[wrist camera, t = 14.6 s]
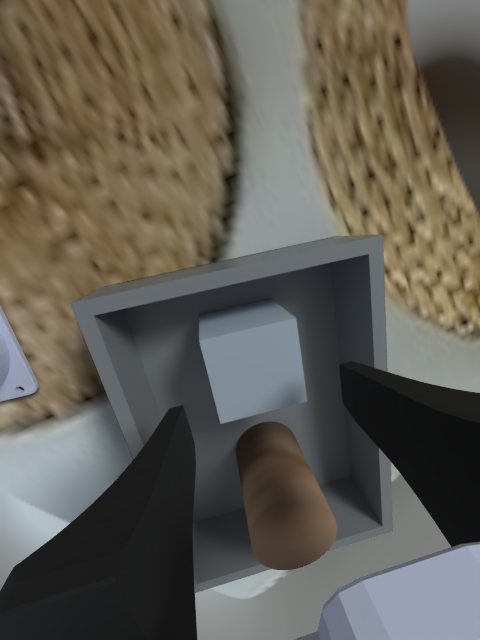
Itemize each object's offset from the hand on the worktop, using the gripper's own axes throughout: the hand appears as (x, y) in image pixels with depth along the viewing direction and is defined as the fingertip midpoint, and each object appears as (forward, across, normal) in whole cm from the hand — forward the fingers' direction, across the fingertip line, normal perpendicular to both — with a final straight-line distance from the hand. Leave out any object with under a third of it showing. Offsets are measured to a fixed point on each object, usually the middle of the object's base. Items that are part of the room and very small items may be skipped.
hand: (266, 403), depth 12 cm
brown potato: (+7, 0, +9) cm, 12 cm away
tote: (+8, 0, +5) cm, 9 cm away
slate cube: (+7, 0, 0) cm, 7 cm away
